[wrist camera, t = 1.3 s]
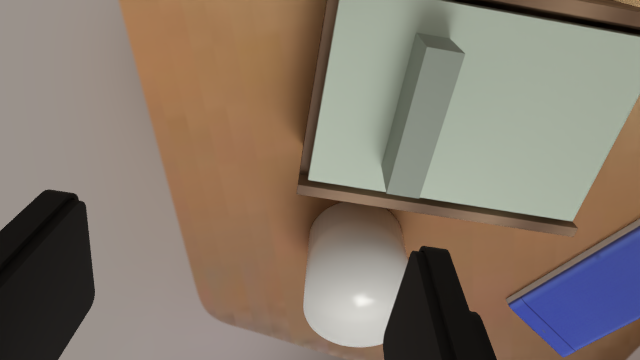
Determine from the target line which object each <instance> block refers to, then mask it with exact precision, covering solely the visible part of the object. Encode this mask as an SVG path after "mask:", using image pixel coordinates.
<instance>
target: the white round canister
mask: <svg viewBox="0 0 640 360" xmlns="http://www.w3.org/2000/svg"><path fill="white" fill-rule="evenodd" d="M407 263H408V258H407V253H406V249H405V244H404V240H403V235H402V231H401V227H400V225H399V223H398V221H397V219H396V218H395V217H394V216H393V215H392V213H390V212H389V211H388V210H387V209H385V208H383V207H377V206H370V205H364V204H357V203H351V202H341V203H338V204H335V205H333V206H331V207H329V208H328V209H326V210H325V211H323V212H322V213H321V214H320V215H319V216H318V217H317V218H316V219H315V221H314V223H313V224H312V227H311V229H310V233H309V244H308V256H307V268H306V280H305V292H304V305H303V307H304V314H305V317H306V319H307V322H308V323H309V325H310V326H311V327H312V328H313V330H314V331H315V332H317V333H318V334H319V335H320V336H322V337H323V338H325V339H327V340H329V341H331V342H333V343H336V344H339V345H343V346H349V347H370V346H375V345H379V344H383V338H384V333H385V329H386V326H387V323H388V320H389V317H390V314H391V311H392V308H393V305H394V302H395V299H396V296H397V293H398V290H399V287H400V284H401V281H402V278H403V275H404V272H405V269H406V266H407Z"/></svg>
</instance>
